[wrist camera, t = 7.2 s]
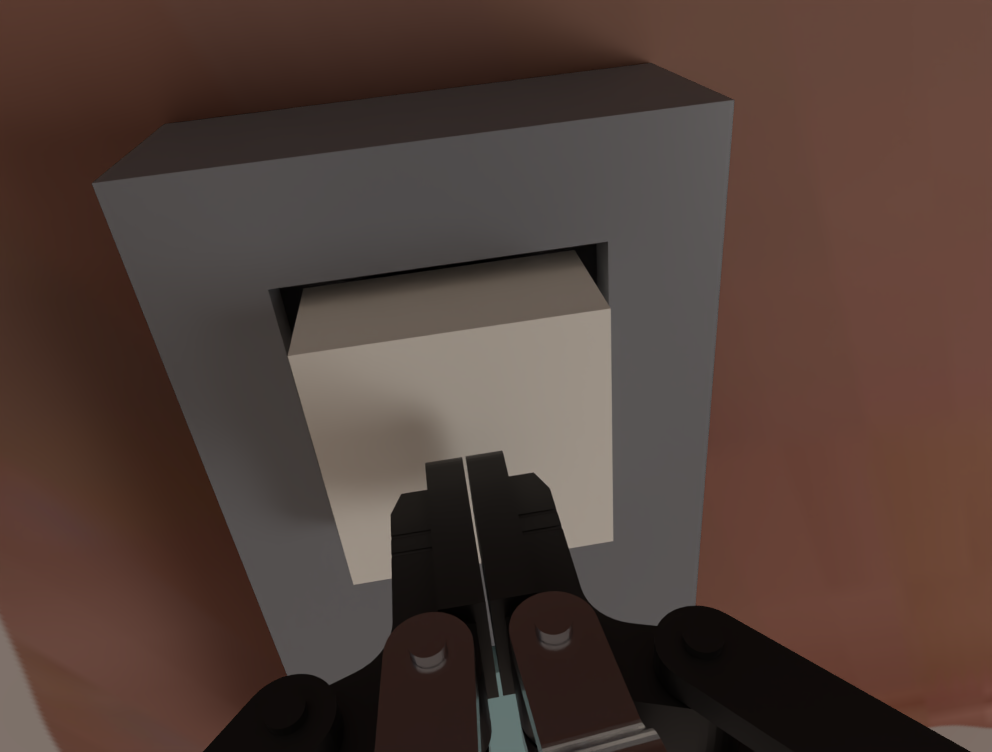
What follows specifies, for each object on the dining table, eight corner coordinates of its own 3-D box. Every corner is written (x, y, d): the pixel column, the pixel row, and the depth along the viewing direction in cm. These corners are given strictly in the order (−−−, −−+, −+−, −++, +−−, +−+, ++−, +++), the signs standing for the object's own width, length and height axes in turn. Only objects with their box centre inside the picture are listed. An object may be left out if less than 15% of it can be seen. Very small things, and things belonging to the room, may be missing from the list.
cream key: (574, 250, 16) (610, 308, 13) (582, 461, 19) (613, 541, 16) (303, 288, 15) (287, 356, 13) (357, 497, 19) (353, 584, 16)
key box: (651, 63, 18) (734, 99, 14) (639, 667, 30) (681, 783, 26) (164, 124, 17) (91, 182, 13) (359, 718, 30) (355, 846, 25)
